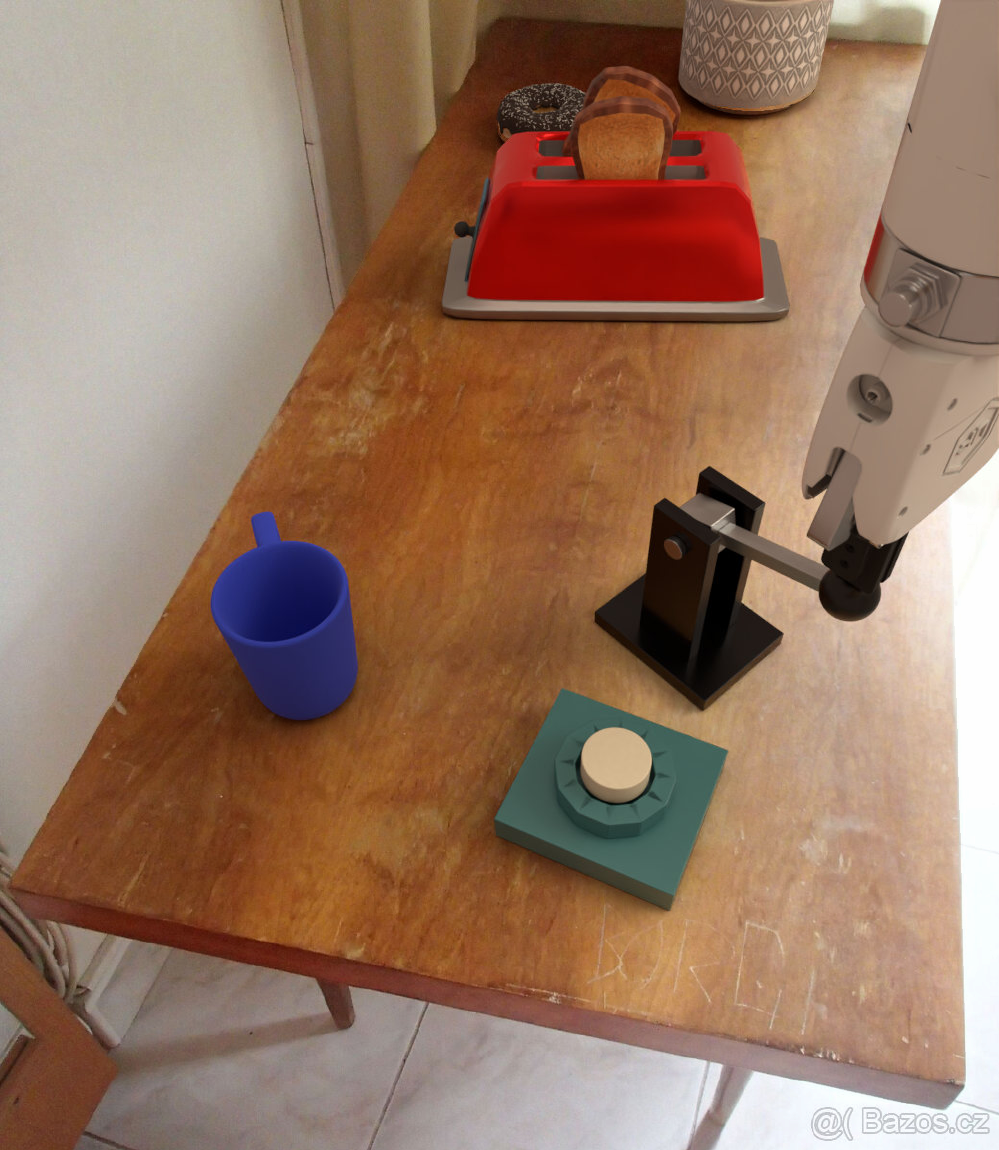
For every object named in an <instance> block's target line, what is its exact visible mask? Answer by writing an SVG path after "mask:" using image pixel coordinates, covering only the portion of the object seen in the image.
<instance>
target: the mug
mask: <svg viewBox="0 0 999 1150" xmlns="http://www.w3.org/2000/svg"><path fill="white" fill-rule="evenodd" d="M250 524H251V527H252V528H251V529H252V530H253V531H252V532H253V535H254V540H255V543H256V547H254V548H252V549H250V550H248V551H246V552H244V553H242V554H241V555H239V556H238V557H237V558H235V559H234V560H233V561H231V562H230V563H229V564H228V565H227V566H226V568H224V569H223V571H221V573H220V575H219V576H218V577H217V579H216V582H215V583H214V585H213V587H212V591H211V595H210V612H211V616H212V619H213V621H214V623H215V625H216V627H217V628H218V630H219V632H220V634H221V635H222V637H223V639H224V641H225V643H226V645H227V646H228V648H229V649H230V651H231V653H232V655H233V656H234V658H235V660H236V662H237V664H238V665H239V667H240V669H241V670H242V672H243V674H244V676H245V677H246V679H247V681H248V682H249V684H250V686H251V688H252V690H253V691H254V694H255V695H256V697H257V698H258V699H259V701H260V702H261V703H262V704H263V705H264V706H265V707H266V709H268V710H269V711H270V712H272V713H274V714H275V715H278V716H280V717H281V718H285V719H289V720H295V721H308V720H314V719H318V718H321V717H324V716H327V715H328V714H329V713H332V712H333V711H335V710H336V709H338V708H340V706H341V705H342V704H343V703H344V702H345V701H346V700H347V699H348V698H349V696H350V694H351V693H352V691H353V689H354V687H355V684H356V682H357V677H358V670H359V664H358V663H359V662H358V661H359V660H358V652H357V646H356V645H357V644H356V636H355V627H354V620H353V611H352V603H351V602H352V601H351V595H350V585H349V579H348V575H347V572H346V570H345V567H344V566H343V564H342V562H340V560H339V558H337V556H336V555H334V554H333V553H331V551H329V550H328V549H326V548H324V547H322V546H319V545H318V544H314V543H311V542H307V541H300V540H281V539H282V538H281V536H280V531H279V528H278V525H277V521H276V518H275V515H274V513H273V512H272V511H262V512H258V513H255V514H254V515H252V516H251V518H250Z"/></svg>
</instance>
